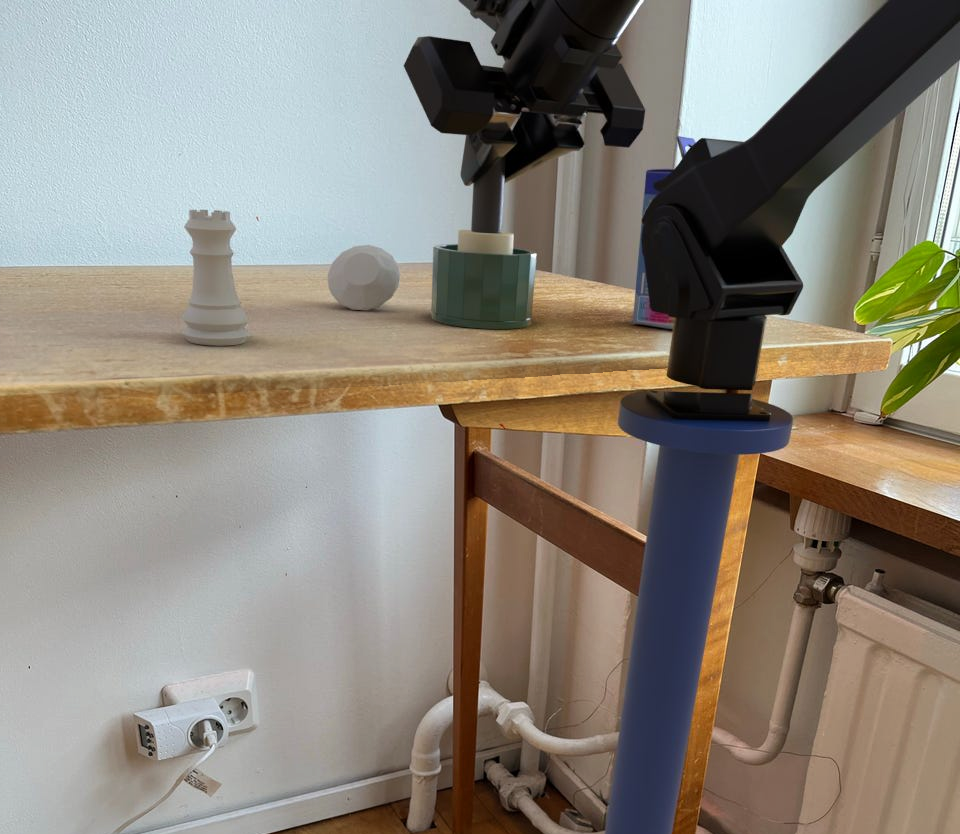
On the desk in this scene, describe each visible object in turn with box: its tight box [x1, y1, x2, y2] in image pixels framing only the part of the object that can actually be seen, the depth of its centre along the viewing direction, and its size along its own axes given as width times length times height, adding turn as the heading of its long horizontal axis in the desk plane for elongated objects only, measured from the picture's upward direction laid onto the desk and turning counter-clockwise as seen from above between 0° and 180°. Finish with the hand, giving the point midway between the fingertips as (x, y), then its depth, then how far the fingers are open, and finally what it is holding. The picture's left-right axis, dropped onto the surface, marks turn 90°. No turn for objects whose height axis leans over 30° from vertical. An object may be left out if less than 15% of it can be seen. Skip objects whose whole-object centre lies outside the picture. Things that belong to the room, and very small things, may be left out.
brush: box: [457, 154, 515, 254], centre depth 76 cm, size 4×4×13 cm
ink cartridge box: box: [632, 135, 697, 330], centre depth 83 cm, size 10×6×14 cm, turn 148°
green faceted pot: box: [430, 243, 538, 330], centre depth 79 cm, size 8×8×6 cm
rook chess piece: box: [181, 209, 251, 347], centre depth 64 cm, size 4×4×8 cm
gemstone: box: [327, 244, 401, 312], centre depth 84 cm, size 6×6×5 cm
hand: (478, 181), depth 77 cm, fingers closed on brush, 2 cm apart
